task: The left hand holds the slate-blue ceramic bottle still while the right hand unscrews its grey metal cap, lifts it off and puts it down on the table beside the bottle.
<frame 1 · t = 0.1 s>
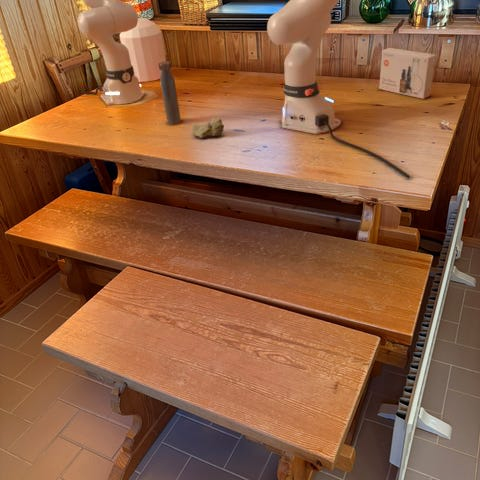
bottle: (174, 122, 183), on the table
cap: (164, 63, 170), point 22 cm above the table, screwed on, not yet turned
rock: (208, 134, 169), on the table
skincare box: (403, 93, 189), on the table
container: (148, 76, 243), on the table
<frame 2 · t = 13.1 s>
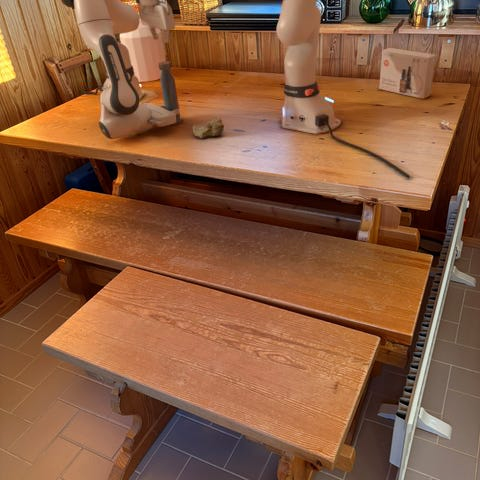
left hand: (174, 108, 181), 5 cm above the table, tool horizontal, fingers closed on bottle, 5 cm apart
right hand: (160, 41, 166), 30 cm above the table, tool pointing down, fingers open, 7 cm apart
bottle: (174, 122, 183), on the table, touching left hand
everything else where it was.
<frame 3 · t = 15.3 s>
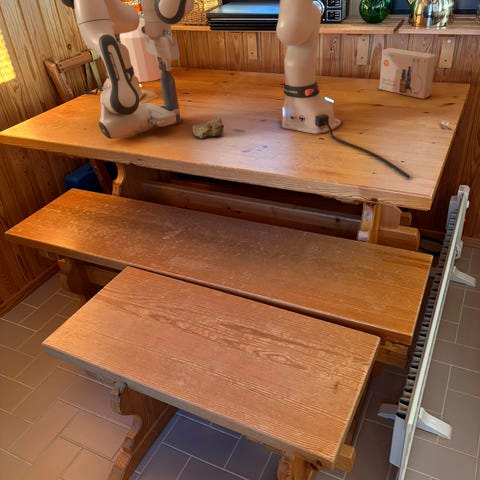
left hand: (174, 108, 181), 5 cm above the table, tool horizontal, fingers closed on bottle, 5 cm apart
right hand: (165, 69, 171), 20 cm above the table, tool pointing down, fingers closed on cap, 4 cm apart
bottle: (174, 122, 183), on the table, touching left hand
cap: (164, 63, 170), point 22 cm above the table, screwed on, not yet turned, touching right hand
everything else where it was.
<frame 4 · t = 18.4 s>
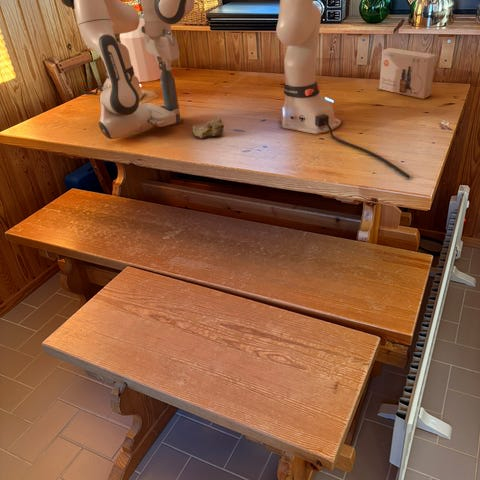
left hand: (174, 108, 181), 5 cm above the table, tool horizontal, fingers closed on bottle, 5 cm apart
right hand: (165, 68, 171), 21 cm above the table, tool pointing down, fingers closed on cap, 4 cm apart
bottle: (174, 122, 183), on the table, touching left hand
cap: (164, 63, 170), point 22 cm above the table, turned 89° so far, risen 0.1 cm, still on its thread, touching right hand
everything else where it was.
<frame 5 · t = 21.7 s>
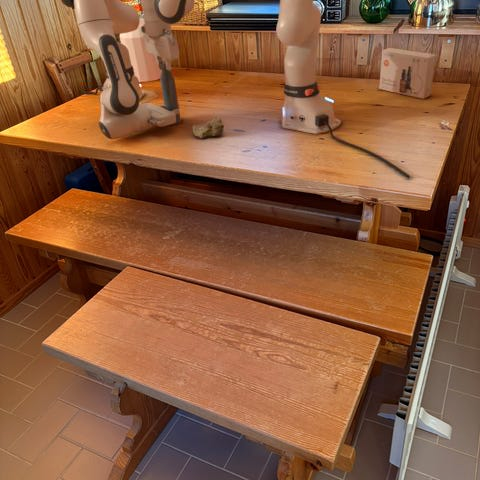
left hand: (174, 108, 181), 5 cm above the table, tool horizontal, fingers closed on bottle, 5 cm apart
right hand: (165, 68, 171), 21 cm above the table, tool pointing down, fingers closed on cap, 4 cm apart
bottle: (174, 122, 183), on the table, touching left hand
cap: (164, 63, 170), point 23 cm above the table, turned 177° so far, risen 0.2 cm, still on its thread, touching right hand
everything else where it was.
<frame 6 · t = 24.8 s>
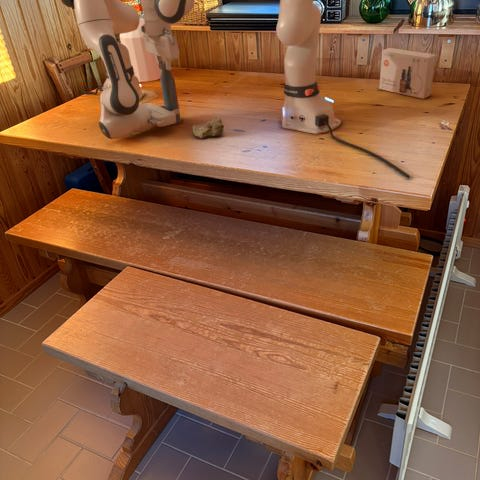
left hand: (174, 108, 181), 5 cm above the table, tool horizontal, fingers closed on bottle, 5 cm apart
right hand: (165, 68, 171), 21 cm above the table, tool pointing down, fingers closed on cap, 4 cm apart
bottle: (174, 122, 183), on the table, touching left hand
cap: (164, 62, 170), point 23 cm above the table, turned 266° so far, risen 0.3 cm, still on its thread, touching right hand
everything else where it was.
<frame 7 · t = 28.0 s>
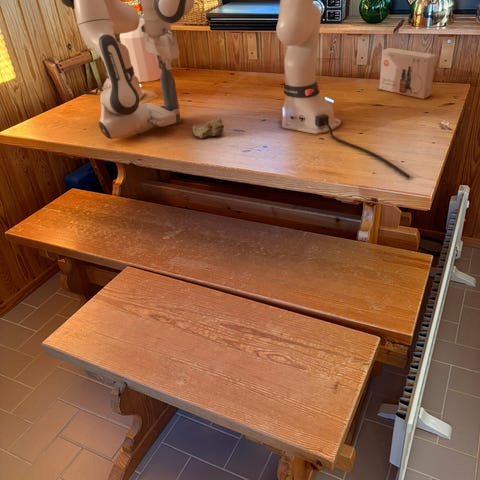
left hand: (174, 108, 181), 5 cm above the table, tool horizontal, fingers closed on bottle, 5 cm apart
right hand: (165, 68, 171), 21 cm above the table, tool pointing down, fingers closed on cap, 4 cm apart
bottle: (174, 122, 183), on the table, touching left hand
cap: (164, 62, 170), point 23 cm above the table, turned 354° so far, risen 0.4 cm, still on its thread, touching right hand
everything else where it was.
when the right hand's fingers open (2 cm above the table, at t = 34.9 s): cap drops 2 cm, point 2 cm above the table.
when the left hand's fingers open (5 cm above the table, at t = 36.1 s): bottle stays where it is, on the table.
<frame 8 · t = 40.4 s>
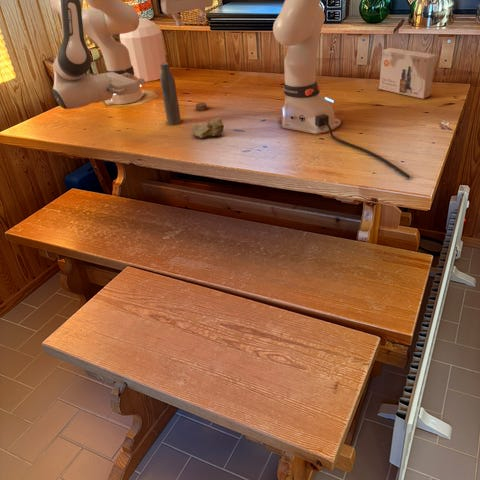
left hand: (137, 78, 167), 20 cm above the table, tool horizontal, fingers open, 8 cm apart
right hand: (190, 23, 174), 33 cm above the table, tool pointing down, fingers open, 8 cm apart
bottle: (174, 122, 183), on the table
cap: (201, 105, 192), point 2 cm above the table, off its thread
everything else where it was.
at the end: cap came off its thread; cap point 1.8 cm above the table; the left hand is holding nothing; the right hand is holding nothing; bottle tilted 0°; bottle moved 0.0 cm from its start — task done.
